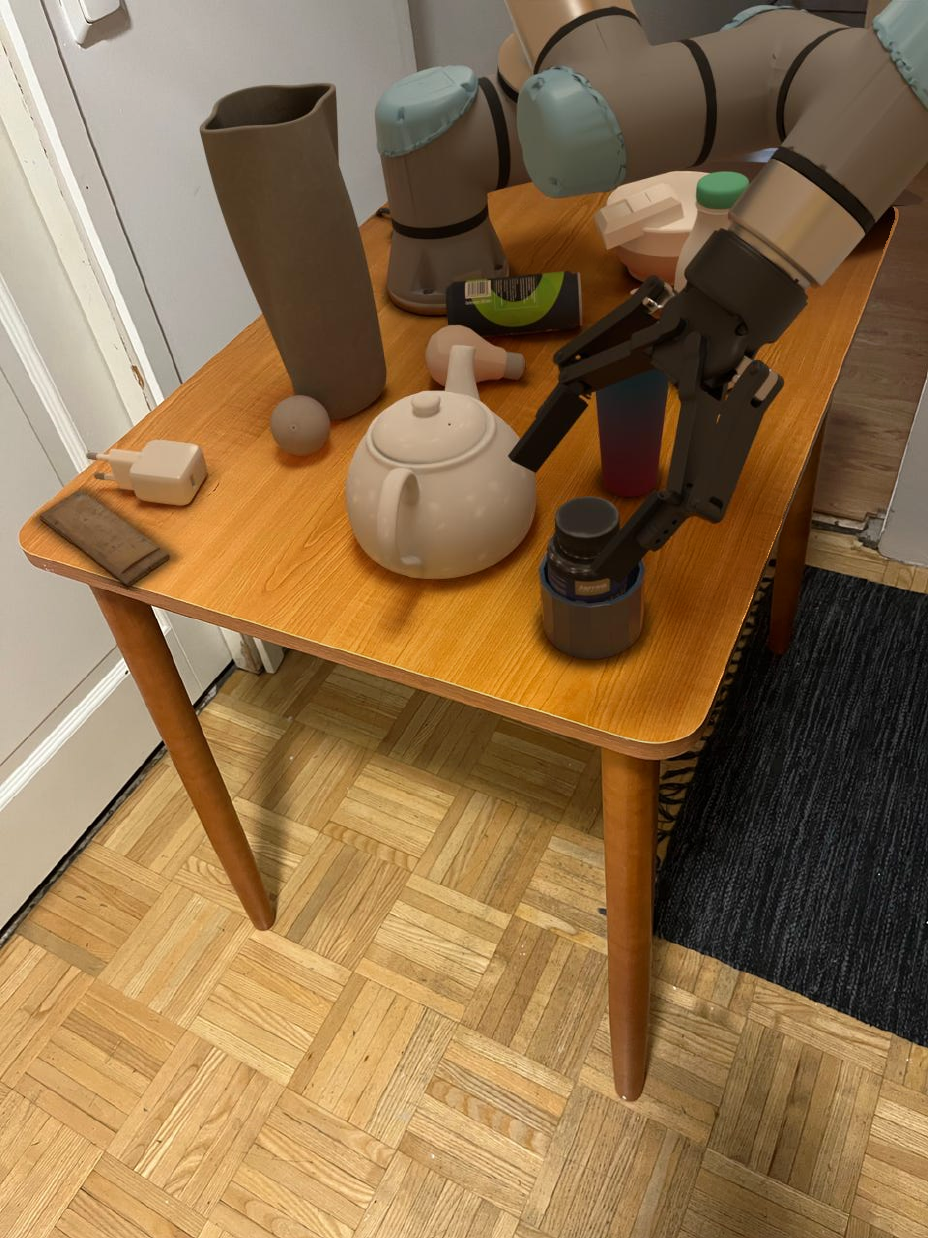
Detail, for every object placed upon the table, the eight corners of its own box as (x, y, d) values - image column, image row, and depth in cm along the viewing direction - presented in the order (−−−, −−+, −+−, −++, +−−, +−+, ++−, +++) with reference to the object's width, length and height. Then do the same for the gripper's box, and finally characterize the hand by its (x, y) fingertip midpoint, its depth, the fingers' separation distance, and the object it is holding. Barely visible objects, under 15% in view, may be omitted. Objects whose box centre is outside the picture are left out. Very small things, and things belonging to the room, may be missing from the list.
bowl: (765, 251, 115) (773, 185, 109) (693, 310, 108) (698, 242, 102) (653, 223, 123) (655, 161, 118) (579, 276, 116) (578, 212, 110)
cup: (673, 462, 90) (681, 317, 79) (659, 508, 86) (666, 362, 75) (602, 454, 92) (601, 312, 81) (585, 498, 88) (581, 355, 77)
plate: (722, 156, 134) (732, 128, 132) (918, 218, 126) (932, 189, 124) (663, 174, 113) (673, 141, 110) (895, 250, 105) (911, 216, 103)
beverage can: (448, 343, 106) (583, 331, 105) (443, 285, 104) (580, 271, 102) (453, 335, 112) (581, 324, 110) (448, 280, 110) (578, 267, 108)
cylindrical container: (525, 611, 79) (520, 558, 74) (607, 574, 81) (607, 520, 76) (576, 674, 73) (573, 621, 69) (662, 633, 75) (665, 579, 71)
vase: (411, 371, 106) (359, 77, 84) (371, 437, 98) (302, 131, 76) (311, 364, 109) (237, 79, 87) (265, 426, 101) (171, 131, 80)
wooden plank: (83, 494, 98) (42, 522, 96) (78, 485, 97) (35, 512, 95) (171, 557, 88) (127, 589, 86) (166, 547, 87) (121, 579, 85)
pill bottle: (579, 660, 74) (575, 556, 66) (536, 614, 78) (527, 511, 70) (643, 625, 75) (646, 520, 67) (597, 582, 79) (596, 478, 71)
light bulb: (533, 323, 101) (431, 306, 100) (532, 367, 97) (426, 350, 96) (520, 368, 106) (423, 353, 105) (519, 411, 103) (418, 396, 102)
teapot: (314, 512, 91) (278, 390, 81) (480, 440, 96) (465, 317, 86) (401, 630, 79) (371, 504, 69) (585, 541, 84) (582, 411, 74)
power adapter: (112, 463, 99) (86, 499, 95) (98, 425, 96) (71, 461, 92) (212, 475, 98) (190, 513, 94) (202, 437, 94) (179, 475, 90)
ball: (318, 463, 100) (345, 413, 98) (305, 470, 94) (334, 417, 92) (268, 432, 99) (295, 382, 98) (252, 437, 93) (281, 384, 92)
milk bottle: (745, 396, 96) (768, 197, 81) (667, 394, 97) (676, 200, 83) (745, 354, 101) (767, 160, 86) (671, 354, 102) (681, 163, 88)
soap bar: (684, 217, 106) (679, 195, 104) (607, 249, 107) (601, 228, 105) (671, 199, 109) (667, 177, 107) (597, 230, 110) (591, 209, 109)
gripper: (930, 378, 54) (681, 644, 62) (696, 216, 70) (525, 442, 79) (869, 320, 49) (609, 616, 57) (634, 160, 65) (458, 408, 74)
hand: (560, 516), depth 68 cm, fingers open, 13 cm apart
